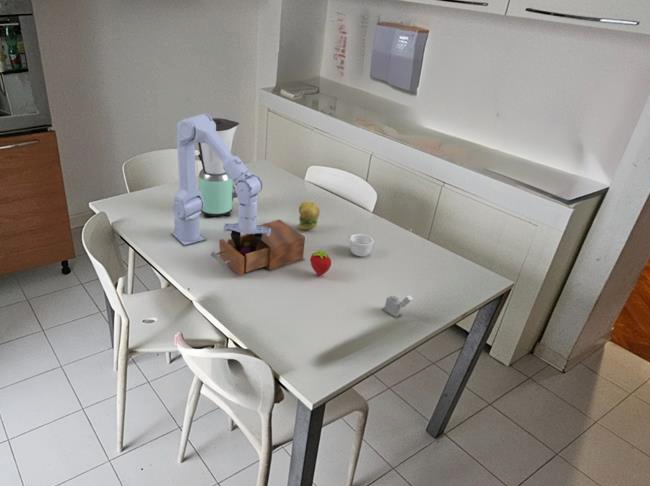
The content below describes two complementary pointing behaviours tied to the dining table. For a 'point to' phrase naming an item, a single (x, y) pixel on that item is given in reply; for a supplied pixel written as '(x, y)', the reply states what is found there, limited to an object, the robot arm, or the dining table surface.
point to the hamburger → (308, 215)
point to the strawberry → (320, 262)
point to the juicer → (217, 173)
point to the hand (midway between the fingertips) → (246, 252)
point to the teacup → (360, 244)
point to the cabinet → (282, 244)
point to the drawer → (237, 260)
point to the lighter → (396, 304)
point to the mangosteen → (246, 248)
